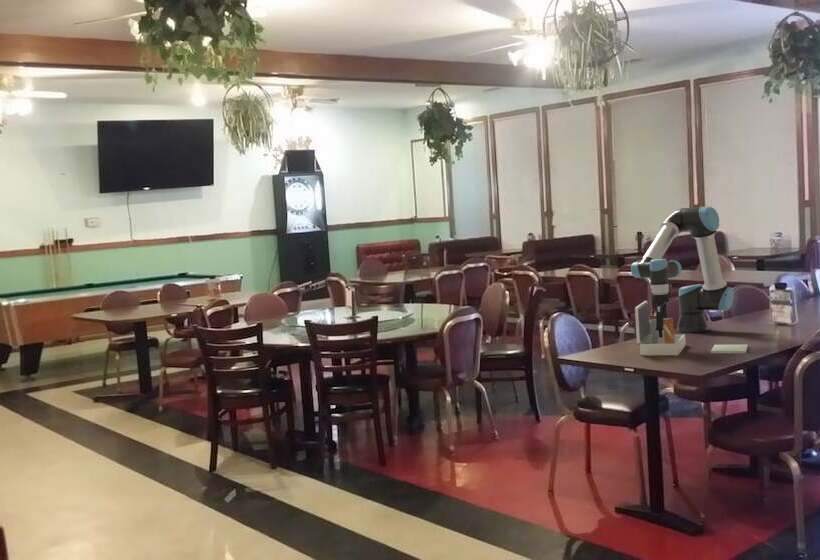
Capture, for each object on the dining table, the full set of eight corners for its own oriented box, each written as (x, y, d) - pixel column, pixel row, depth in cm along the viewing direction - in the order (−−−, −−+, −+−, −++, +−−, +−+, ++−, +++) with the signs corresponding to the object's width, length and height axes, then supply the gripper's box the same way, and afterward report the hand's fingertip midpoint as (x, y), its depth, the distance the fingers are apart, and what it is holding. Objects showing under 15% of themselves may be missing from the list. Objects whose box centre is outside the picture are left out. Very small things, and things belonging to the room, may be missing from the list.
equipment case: (647, 345, 389) (645, 300, 388) (685, 344, 382) (683, 299, 380) (637, 355, 366) (634, 307, 364) (678, 355, 358) (675, 306, 357)
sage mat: (714, 346, 371) (714, 344, 371) (748, 346, 365) (747, 344, 365) (710, 353, 357) (710, 351, 357) (745, 353, 351) (745, 350, 350)
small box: (663, 349, 368) (661, 320, 367) (652, 348, 373) (650, 319, 372) (675, 346, 373) (673, 317, 372) (663, 345, 378) (662, 317, 377)
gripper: (655, 290, 383) (658, 338, 385) (647, 296, 363) (650, 346, 364) (672, 290, 380) (675, 337, 381) (665, 296, 359) (668, 346, 361)
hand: (663, 342), depth 373 cm, fingers closed on small box, 10 cm apart
